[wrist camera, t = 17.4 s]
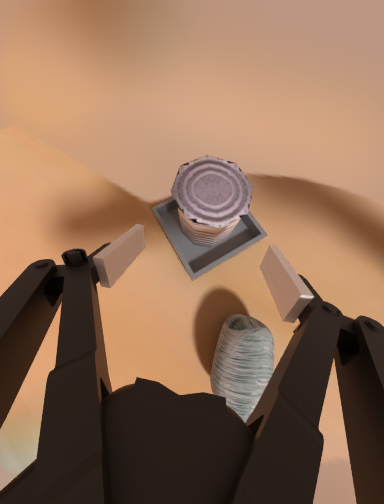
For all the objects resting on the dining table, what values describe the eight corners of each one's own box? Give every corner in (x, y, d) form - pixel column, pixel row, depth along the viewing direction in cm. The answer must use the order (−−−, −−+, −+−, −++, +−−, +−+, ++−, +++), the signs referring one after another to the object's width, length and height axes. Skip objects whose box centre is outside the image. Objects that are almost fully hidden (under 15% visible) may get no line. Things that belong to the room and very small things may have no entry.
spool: (217, 299, 26) (260, 340, 17) (255, 309, 29) (309, 348, 20) (188, 370, 26) (215, 448, 17) (229, 372, 30) (270, 437, 21)
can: (186, 196, 34) (181, 148, 22) (236, 204, 33) (258, 159, 22) (175, 243, 31) (164, 216, 20) (229, 253, 31) (250, 231, 19)
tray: (259, 240, 32) (267, 235, 28) (192, 280, 30) (192, 279, 27) (217, 183, 35) (220, 172, 32) (155, 216, 33) (150, 207, 30)
